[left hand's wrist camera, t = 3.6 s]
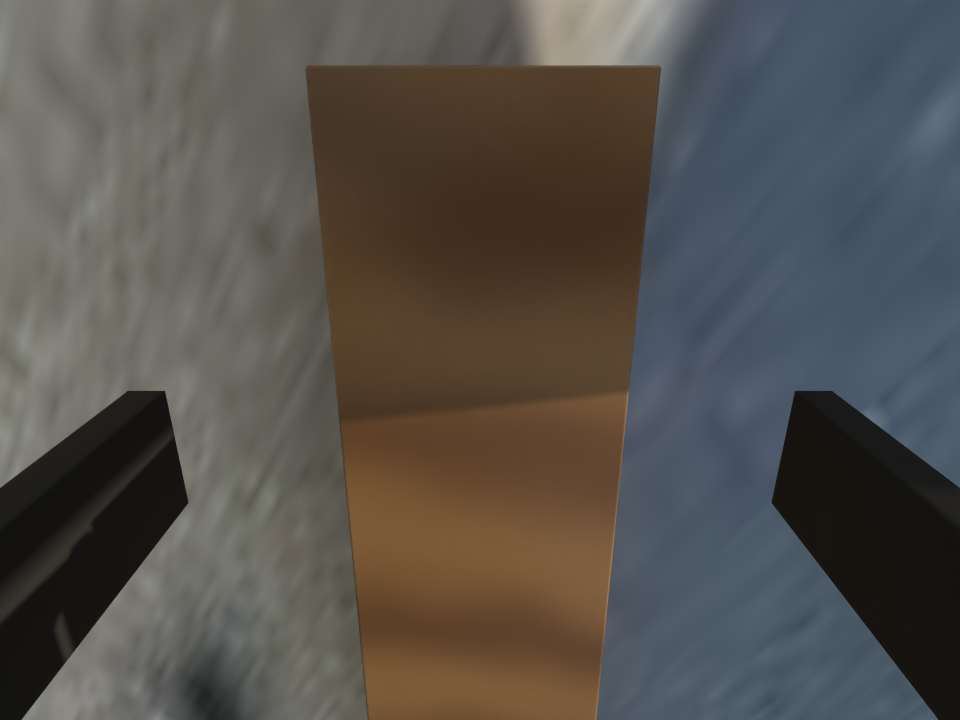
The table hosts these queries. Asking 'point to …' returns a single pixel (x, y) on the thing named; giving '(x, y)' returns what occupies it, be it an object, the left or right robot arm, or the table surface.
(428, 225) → the wooden beam
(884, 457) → the left robot arm
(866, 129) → the table surface
